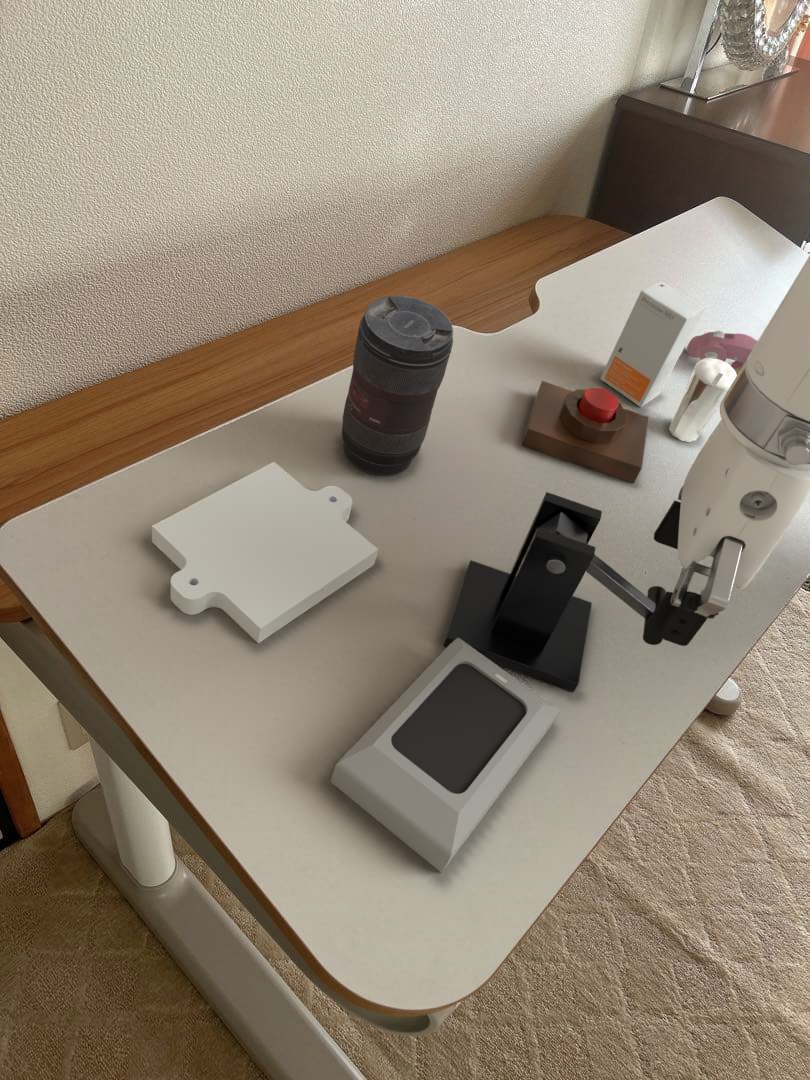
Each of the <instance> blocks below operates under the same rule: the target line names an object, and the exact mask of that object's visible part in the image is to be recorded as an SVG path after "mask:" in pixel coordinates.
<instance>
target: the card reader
mask: <svg viewBox="0 0 810 1080" xmlns="http://www.w3.org/2000/svg"><path fill="white" fill-rule="evenodd" d="M559 714H560V709H559V708H557V707H556V706H555V705H553V704H552V703H550V702H549V701H548V700H547V699H545V698H544V697H542V696H541V695H539V694H538V693H536V692H535V691H534V690H532V689H531V688H529V686H527V685H525V684H524V683H523V682H521V681H520V680H518V679H517V678H515V677H514V676H513V675H512V674H510V673H509V672H507V671H506V670H505V669H503V667H501V666H498V665H496V664H495V663H493V662H492V661H491V660H489V659H488V658H486V657H485V656H484V655H482V654H481V653H479V652H478V651H477V650H475V649H474V648H472V647H471V646H470V645H468V644H467V643H465V642H464V641H463V640H461V639H460V638H457V639H455V640H454V641H453V642H452V643H451V644H450V645H449V646H448V647H446V648H444V650H443V651H441V653H440V654H439V655H438V656H437V657H436V658H435V659H434V660H433V661H432V662H431V663H430V664H429V666H428V667H427V668H426V669H425V670H424V671H423V672H422V673H421V674H420V675H419V676H418V677H417V678H416V679H415V680H414V681H413V683H412V684H410V686H408V687H407V689H406V690H405V691H404V692H403V693H402V694H401V695H400V696H399V697H398V698H397V699H396V701H395V702H393V703H392V705H390V707H389V708H388V709H386V711H385V712H384V713H383V714H382V715H381V716H380V717H379V719H377V720H376V721H375V723H374V724H373V725H372V726H371V727H370V728H369V729H368V730H367V731H366V732H365V733H364V734H363V735H362V736H361V737H360V738H359V740H358V741H356V743H355V744H354V745H353V746H352V747H351V748H350V749H349V750H348V751H347V752H346V753H345V754H344V755H343V756H342V757H341V759H339V760H338V761H337V763H336V764H335V765H334V768H333V772H332V775H331V778H330V780H329V781H330V784H332V785H333V786H335V787H336V788H337V789H338V790H340V791H341V792H342V793H343V794H344V795H345V796H347V797H348V798H349V799H350V800H351V801H353V802H354V803H355V804H356V805H357V806H359V807H360V808H361V809H362V810H363V811H365V812H366V813H367V814H368V815H370V816H371V817H372V818H373V819H374V820H376V821H377V822H378V823H380V824H381V825H382V826H383V827H384V828H386V829H387V830H388V831H389V832H390V833H392V834H393V835H394V836H396V837H397V838H398V839H399V840H400V841H402V842H403V843H404V844H405V845H406V846H408V847H409V848H410V849H411V850H412V851H414V852H415V853H416V854H418V855H419V856H420V857H421V858H422V859H424V860H425V861H426V862H427V863H428V864H430V865H431V866H432V867H433V868H434V869H436V870H437V871H438V872H439V873H441V874H442V873H443V872H444V870H445V869H446V867H447V866H449V864H450V862H451V861H452V859H453V858H454V857H455V855H457V853H458V851H459V850H460V849H461V848H462V846H463V845H464V844H465V842H466V841H467V840H468V838H469V837H470V835H472V833H473V832H474V831H475V828H477V826H478V825H479V823H480V822H481V820H483V818H484V817H485V815H486V814H487V813H488V811H489V810H490V808H491V807H492V806H493V805H494V803H495V802H496V800H497V799H498V798H499V796H501V794H502V793H503V791H504V790H505V789H506V787H507V786H508V785H509V783H510V782H511V780H512V779H513V778H514V777H515V775H516V774H517V772H518V771H519V770H520V769H521V767H522V766H523V765H524V764H525V762H526V760H527V759H528V758H529V756H530V755H531V753H532V752H533V751H534V750H535V748H536V747H537V746H538V745H539V743H540V741H541V740H543V738H544V736H545V735H546V734H547V732H548V731H549V730H550V728H551V727H552V725H553V724H554V722H555V721H556V718H558V716H559Z"/></svg>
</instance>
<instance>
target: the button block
mask: <svg viewBox="0 0 810 1080" xmlns="http://www.w3.org/2000/svg"><path fill="white" fill-rule="evenodd" d="M587 389H588V388H577V389H574V390H571V389H568V388H565V387H563V386H560V385H556V384H554V383H551V382H547V381H544V380H541V382H540V384H539V387H538V390H537V392H536V394H535V398H534V401H533V405H532V408H531V411H530V415H529V418H528V422H527V425H526V428H525V432H524V435H523V439H522V441H521V445H522V446H524V447H525V448H526V447H527V448H530V449H532V450H535V451H538V452H540V453H544V454H547V455H550V456H552V457H555V458H559V459H561V460H564V461H567V462H570V463H573V464H576V465H579V466H582V467H585V468H587V469H590V470H593V471H596V472H599V473H601V474H605V475H608V476H611V477H614V478H616V479H618V480H619V479H620V480H622V481H625V482H628V483H631V484H635V482H636V480H637V479H638V477H639V475H640V473H641V471H642V468H643V462H644V456H645V448H646V441H647V432H648V424H649V416H646V415H644V414H641V413H638V412H636V411H632V410H629V409H626V408H624V407H623V406H622V404H621V403H620V402H619V401H618V407H617V409H616V411H615V413H614V415H613V417H612V419H611V420H610V421H609V422H606V423H598V422H596V421H593V420H590V419H588V418H587V417H585V416H584V415H583V414H581V412H580V411H579V404H580V401H581V399H582V397H583V395H584V392H585V391H586V390H587Z"/></svg>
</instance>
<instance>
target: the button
mask: <svg viewBox="0 0 810 1080" xmlns="http://www.w3.org/2000/svg"><path fill="white" fill-rule="evenodd" d="M586 389H587V390H586V391H585V392H584V395H583V397H582V399H581V401H580V404H579V411H580V412H581V414H583V415H584V416H585V417H587V418H588V419H590V420H593V421H596V422H598V423H606V422H609V421H610V420H611V419H612V417H613V415H614V413H615V411H616V409H617V407H618V402H619V399H618V398H617V396H616V395H615V394H613V393H612V392H611V391H609V390H608V389H606V388H602V387H598V386H593V387H589V388H586Z"/></svg>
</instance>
